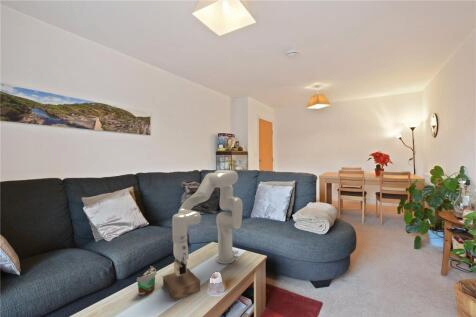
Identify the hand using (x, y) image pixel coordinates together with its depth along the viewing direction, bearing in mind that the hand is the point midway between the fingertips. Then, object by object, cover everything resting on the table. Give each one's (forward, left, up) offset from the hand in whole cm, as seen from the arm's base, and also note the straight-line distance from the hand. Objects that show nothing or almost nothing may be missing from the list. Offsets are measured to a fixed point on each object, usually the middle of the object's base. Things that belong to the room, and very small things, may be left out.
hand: (180, 271), depth 120 cm
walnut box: (0, 0, -9) cm, 9 cm away
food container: (+14, -8, -10) cm, 19 cm away
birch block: (0, 0, -1) cm, 1 cm away
